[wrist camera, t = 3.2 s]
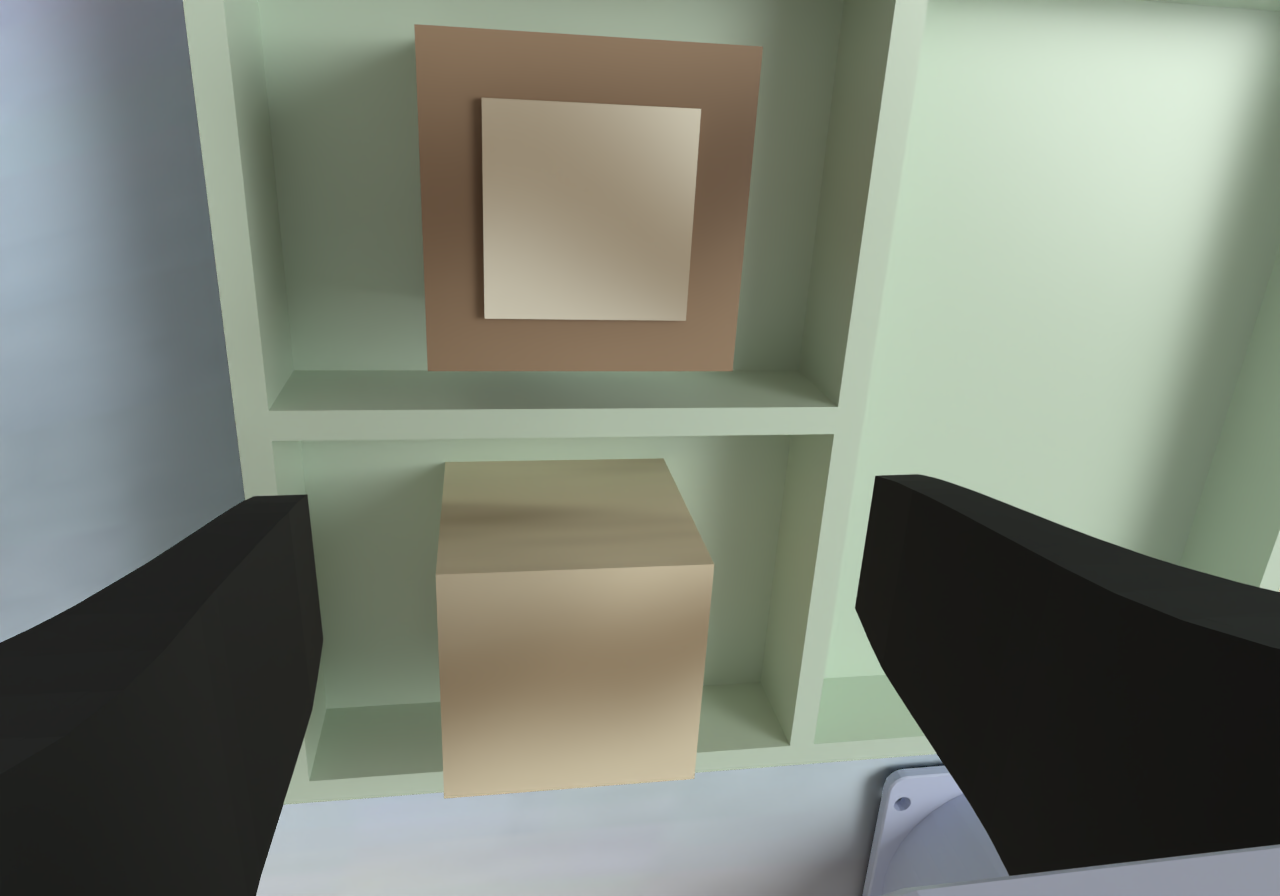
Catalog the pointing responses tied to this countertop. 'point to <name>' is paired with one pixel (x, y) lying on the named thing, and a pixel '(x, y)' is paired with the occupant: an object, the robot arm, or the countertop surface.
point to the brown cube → (582, 199)
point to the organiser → (773, 327)
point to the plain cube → (568, 625)
